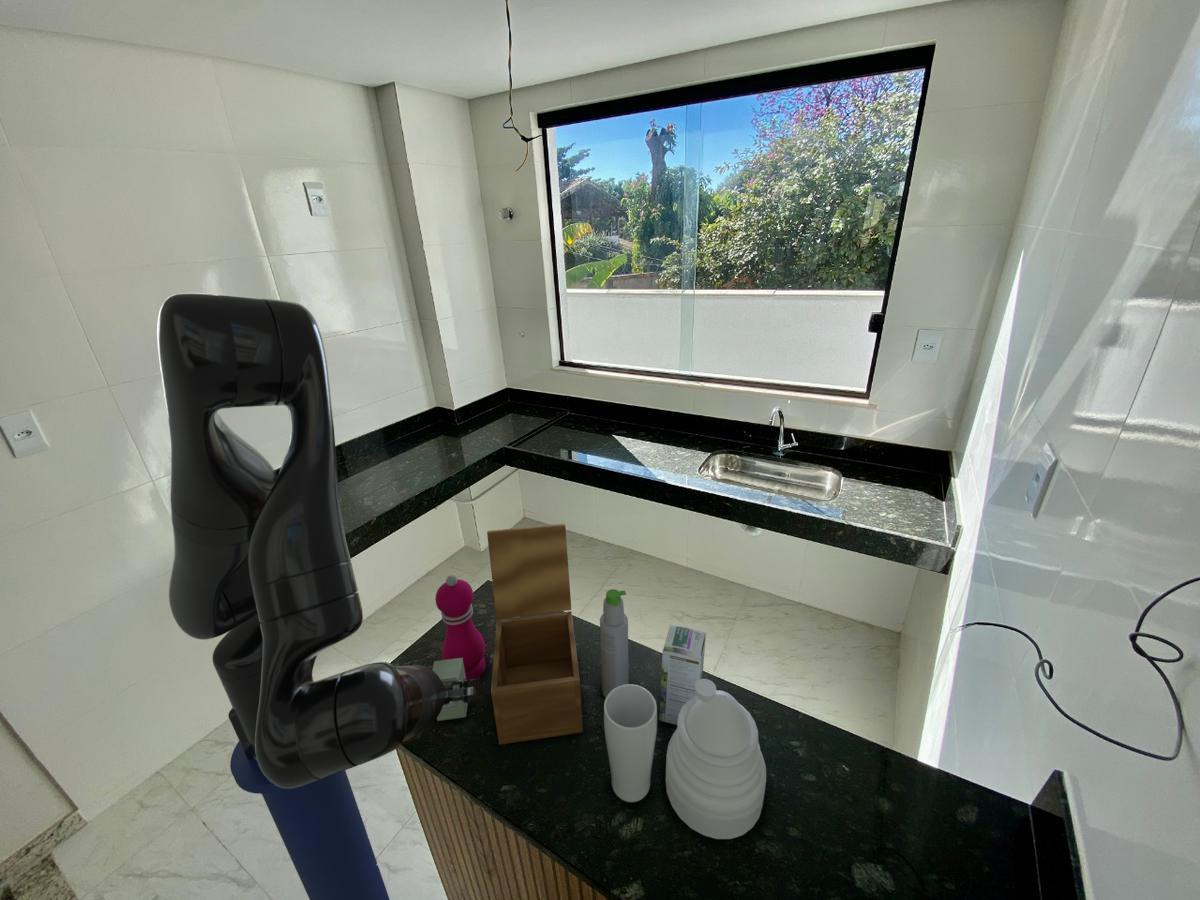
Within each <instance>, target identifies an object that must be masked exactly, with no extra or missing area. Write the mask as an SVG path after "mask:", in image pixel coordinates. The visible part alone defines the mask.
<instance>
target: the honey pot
mask: <svg viewBox="0 0 1200 900" xmlns="http://www.w3.org/2000/svg"><path fill="white" fill-rule="evenodd" d="M695 692H696V694H697V696H695V697H694V698H692V699H690V700H688V701H687V702H686V703H685V704H684V705H683V706H682V708H681V710H680V712H679V715H678V721H677V725H676V730H674V732H673V733H672V735H671V738H670V740H669V741H668V744H667V749H666V759H665V760H666V761H665V788H666V795H667V797H668V800H669V802H670V805H671V807H672V808H673V810H674V812H675V813H676V814H677V816H678V817H679V819H680V820H681V821H682V822H684V824H686V825H687V826H688V827H689V828H690V829H691V830H693V831H694V832H697V833H698V834H700V835H702V836H704V837H708V838H712V839H715V840H731V839H736V838H739V837H742V836H744V835H745V834H746V833H748V832H749V831H750V830H751V829H753V828H754V826H755V825H756V823H757V822H758V820H759V819H760V817H761V814H762V810H763V805H764V801H765V800H764V799H765V793H766V783H767V766H766V762H765V759H764V756H763V752H762V751H761V746H760V741H759V731H758V727H757V724H756V721H755V719H754V718H753V716H752V714H751V713H750V712H749V711H748V710H747V709H746V707H744V706H743V704H742V703H739V702H738V700H737V699H736V698H735V697H734V696H733V695H732V694H730V693H729V692H727V691H724V690H721V689H720V690H719V689H718V690H717V685H716V684H715V682H713V681H712V680H711V679H708V678H702V679H700V680H698V681H697V682H696V683H695Z"/></svg>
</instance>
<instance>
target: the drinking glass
mask: <svg viewBox="0 0 1200 900" xmlns="http://www.w3.org/2000/svg"><path fill="white" fill-rule="evenodd" d="M603 731H604V732H603V733H604V738H605V745H606V751H607V757H608V762H609V763H608V764H609V769H610V781H611V787H612V790H613V792H614V794H615V795H616V796H617V797H618V798H619V799H620V800H622V801H624V802H627V803H636V802H639V801H641V800H643V799H644V798H645V797H646V796H647V795H648V793H649V791H650V789H651V781H652V777H651V776H652V769H653V762H654V755H655V749H656V743H657V742H656V741H657V734H658V733H657V732H658V705H657V702H656V699H655V697H654V695H653V694H652V693H651V692H650V691H649V690H648V689H646V688H644V687H643V686H641V685H637V684H634V683H629V684H626V685H621V686H618V687H616V688H614V689H613V690H612V691H611V692H610V693H609V694H608V695H607V697H606V698H605V699H604V702H603Z"/></svg>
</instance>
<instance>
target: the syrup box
mask: <svg viewBox="0 0 1200 900" xmlns="http://www.w3.org/2000/svg"><path fill="white" fill-rule="evenodd" d="M706 638H707V632H705V631H702V630H699V629H695V628H691V627H686V626H682V625H676V624H675V625H674V624H670V625H669V627H668V631H667V633H666V639H665V641H664V644H663V648H662V652H661V671H660V689H659V690H660V691H659V710H658V711H659V712H658V720H659V721H660V722H663V723H668V724H672V725H676V726H677V721H678V715H679V712H680V710H681V708H682V706H683V705H684V704H685V703H686V702H687V701H688V700H690V699H692V698H694V697H695V696H697V694H696V692H695V683H696V682H697V681H698V680H700V679H703V673H704V662H705V653H706V652H705V651H706Z"/></svg>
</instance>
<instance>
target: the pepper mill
mask: <svg viewBox="0 0 1200 900" xmlns="http://www.w3.org/2000/svg"><path fill="white" fill-rule="evenodd" d="M474 595H475V594H474V591H473V587H472V586H471V584H470V583H469V582H468V581H466V580H465V579H460V578H459V579H458V577H457V576H456V575H454V574H450V575H448V576H447V577H446V579H445V582H443V583H442V584H441V585H440V586H439V587H438V588H437V591H436V593H435V600H434V601H435V605H436V608H437V609H438V610H439V611H440V614H441V620H442V621H443V623H445V624H446V635H445V638H444V641H443V644H442V650H441V655H442V660H448V659H456V658H463V664H464V669H465V675H466V680H467V679H475V678H476V677H479V678H481V676H482V675H483V673H484V671H485V669H486V661H485V660H486V659H485V654H486V642H485V639H484V637H483V635H482V633H480V631H479V630H478V629H477V628H476V626H475V625H474V623H473V620H472V616H473V615H474V609H473V602H474Z"/></svg>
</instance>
